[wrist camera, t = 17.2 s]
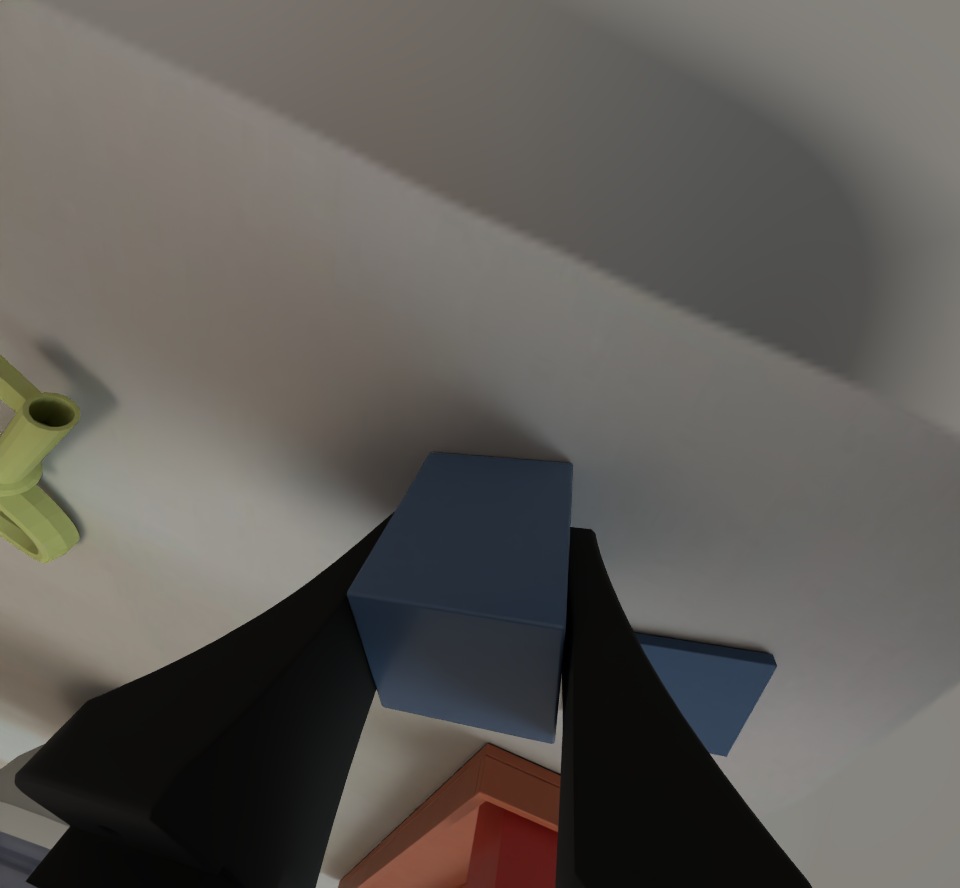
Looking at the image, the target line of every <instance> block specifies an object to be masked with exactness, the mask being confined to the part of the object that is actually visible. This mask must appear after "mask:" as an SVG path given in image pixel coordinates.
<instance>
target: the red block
mask: <svg viewBox="0 0 960 888" xmlns="http://www.w3.org/2000/svg"><path fill="white" fill-rule="evenodd" d="M557 840H558V832H556V831H554V830H552V829H549V828H547V827H545V826H543V825H540V824H538V823H536V822H533V821H531V820H529V819H527V818H524V817H522V816H520V815H517V814H515V813H513V812H511V811H508V810H506V809H504V808H502V807H499V806H497V805H495V804H492V803H490V802H488V801H485V802H484V803H482V804H481V805H480V806H479V810H478V816H477V822H476V828H475V833H474V839H473V845H472V851H471V857H470V862H469V868H468V874H467V880H466V886H465V888H555V879H556V860H557Z"/></svg>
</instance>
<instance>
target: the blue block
mask: <svg viewBox="0 0 960 888" xmlns="http://www.w3.org/2000/svg"><path fill="white" fill-rule="evenodd" d="M572 475H573V465H572V464H571V463H563V462H550V461H537V460H525V459H512V458H499V457H487V456H474V455H461V454H448V453H436V452H431V453H430V454H429V456H428V457H427V459H426V461H425V462H424V464H423V466H422V467H421V469H420V471H419V472H418V474H417V476H416V477H415V479H414V481H413V482H412V484H411V486H410V487H409V489H408V491H407V492H406V494H405V496H404V497H403V499H402V501H401V502H400V504H399V506H398V507H397V509H396V511H395V513H394V514H393V516H392V518H391V519H390V521H389V523H388V524H387V526H386V528H385V529H384V531H383V533H382V534H381V536H380V538H379V539H378V541H377V543H376V544H375V546H374V548H373V549H372V551H371V553H370V554H369V556H368V558H367V559H366V561H365V563H364V564H363V566H362V568H361V570H360V571H359V573H358V575H357V576H356V578H355V580H354V581H353V583H352V585H351V586H350V588H349V590H348V592H347V597H348V600H349V603H350V606H351V610H352V613H353V616H354V619H355V622H356V625H357V629H358V632H359V635H360V638H361V641H362V644H363V647H364V651H365V654H366V657H367V660H368V663H369V666H370V669H371V673H372V676H373V679H374V682H375V685H376V688H377V691H378V695H379V698H380V701H381V704H382V706H383V707H386V708H390V709H395V710H399V711H404V712H409V713H413V714H418V715H422V716H427V717H431V718H436V719H441V720H445V721H450V722H454V723H459V724H463V725H468V726H473V727H477V728H482V729H486V730H491V731H495V732H500V733H505V734H509V735H514V736H518V737H523V738H527V739H532V740H537V741H541V742H546V743H550V744H553V743H554V741H555V734H556V724H557V714H558V704H559V693H560V683H561V673H562V663H563V653H564V642H565V632H566V615H567V591H568V568H569V545H570V522H571V498H572Z"/></svg>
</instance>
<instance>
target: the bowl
mask: <svg viewBox="0 0 960 888" xmlns="http://www.w3.org/2000/svg"><path fill="white" fill-rule="evenodd" d="M44 745H45V744H44ZM44 745H41V746H39V747H37V748H35V749H33V750H31V751H28V752H26V753H24V754H22V755H20V756H18V757H16V758H15V759H14V760H12V761H11V762H10V763H8V764H7V765H6V766H4V767H3V768H2V769H0V831H1V832H4V833H7V834H9V835H12V836H15V837H18V838H20V839H23V840H26V841H29V842H32V843H34V844H37V845H40V846H43V847H45V848H48V849H52V848H53V847H54V845H55V844H56V843H57V842H58V840H59V839H60V838H61V837H62V835H63V834H64V833H65V832H66V831H67V829H68V828H69V827H70V825H68V824H67V823H66V822H64V821H63V820H61V819H60V818H58V817H57V816H55V815H54V814H52V813H51V812H49V811H48V810H46V809H45V808H43V807H42V806H41V805H39V804H38V803H36V802H35V801H33V800H32V799H30V798H29V797H28V796H26V795H25V794H24V793H22V792H21V791H20V790H19V789H18V788H17V787H16V786H15V782H14V781H15V774H16V773H17V772H18V771H19V770H20V769H21V768H22V767H23V766H24V765H25V764H26V763H27V762H28V761H29V760H30V759H31V758H32V757H33V756H34V755H35V754H36V753H37V752H38V751H39V750H40V749H41V748H42V747H43V746H44Z"/></svg>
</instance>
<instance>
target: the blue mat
mask: <svg viewBox="0 0 960 888" xmlns="http://www.w3.org/2000/svg"><path fill="white" fill-rule="evenodd" d="M635 635H636V637H637V639H638V641H639V643H640V645H641V647H642V648H643V650H644V652H645V654H646V656H647V657H648V659H649V661H650V663H651V664H652V666H653V668H654V670H655V671H656V673H657V675H658V676H659V678H660V680H661V681H662V683H663V685H664V686H665V688H666V689H667V691H668V693H669V694H670V696H671V697H672V699H673V701H674V702H675V704H676V705H677V707H678V708H679V710H680V712H681V713H682V715H683V716H684V717H685V719H686V720H687V722H688V723H689V725H690V726H691V728H692V729H693V730H694V732H695V733H696V735H697V736H698V738H699V739H700V741H701V742H702V743H703V745H704V746H705V748H706V749H707V751H708V752H709V753H711V754H716V755H721V756H727V754H728V753H729V751H730V749H731V747H732V746H733V744H734V742H735V740H736V738H737V737H738V735H739V733H740V731H741V729H742V728H743V726H744V724H745V722H746V721H747V719H748V717H749V715H750V713H751V712H752V710H753V708H754V706H755V705H756V703H757V701H758V699H759V697H760V696H761V694H762V692H763V690H764V689H765V687H766V685H767V683H768V681H769V680H770V678H771V676H772V674H773V672H774V671H775V669H776V667H777V664H776V662H775V659H774V657H773V655H772V654H766V653H759V652H753V651H747V650H740V649H734V648H728V647H721V646H715V645H708V644H702V643H696V642H689V641H683V640H677V639H670V638H664V637H657V636H651V635H645V634H638V633H635Z"/></svg>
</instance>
